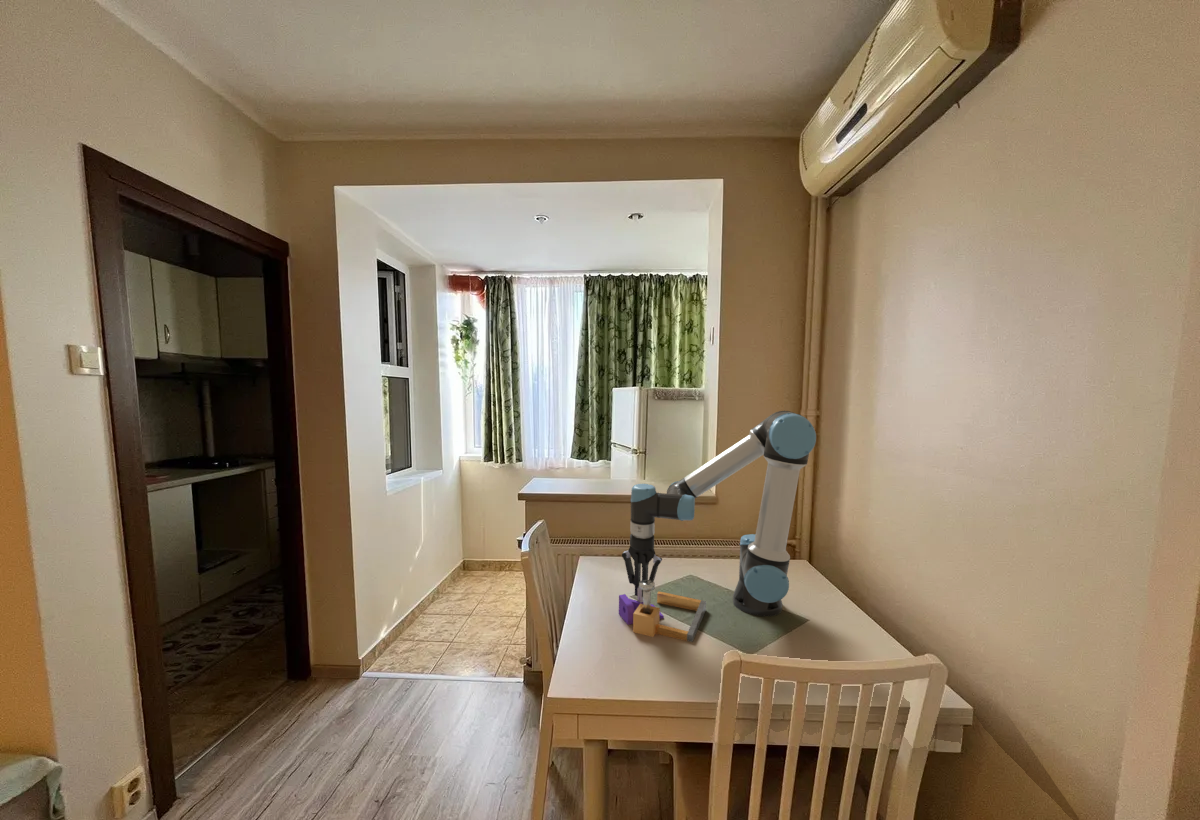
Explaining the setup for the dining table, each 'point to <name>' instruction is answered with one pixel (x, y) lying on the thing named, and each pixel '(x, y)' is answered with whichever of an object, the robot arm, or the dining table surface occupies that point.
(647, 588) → the round-headed metal pin
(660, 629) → the u-shaped frame
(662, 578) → the dining table surface
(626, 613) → the bracket
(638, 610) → the sleeve
